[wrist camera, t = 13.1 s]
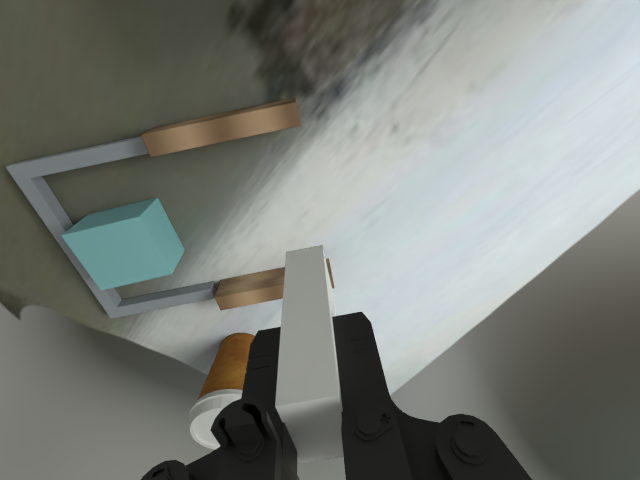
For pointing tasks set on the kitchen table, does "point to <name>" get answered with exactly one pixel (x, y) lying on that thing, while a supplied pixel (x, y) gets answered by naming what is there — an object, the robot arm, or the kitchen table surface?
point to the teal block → (126, 244)
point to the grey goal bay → (59, 223)
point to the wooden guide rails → (222, 130)
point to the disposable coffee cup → (220, 387)
